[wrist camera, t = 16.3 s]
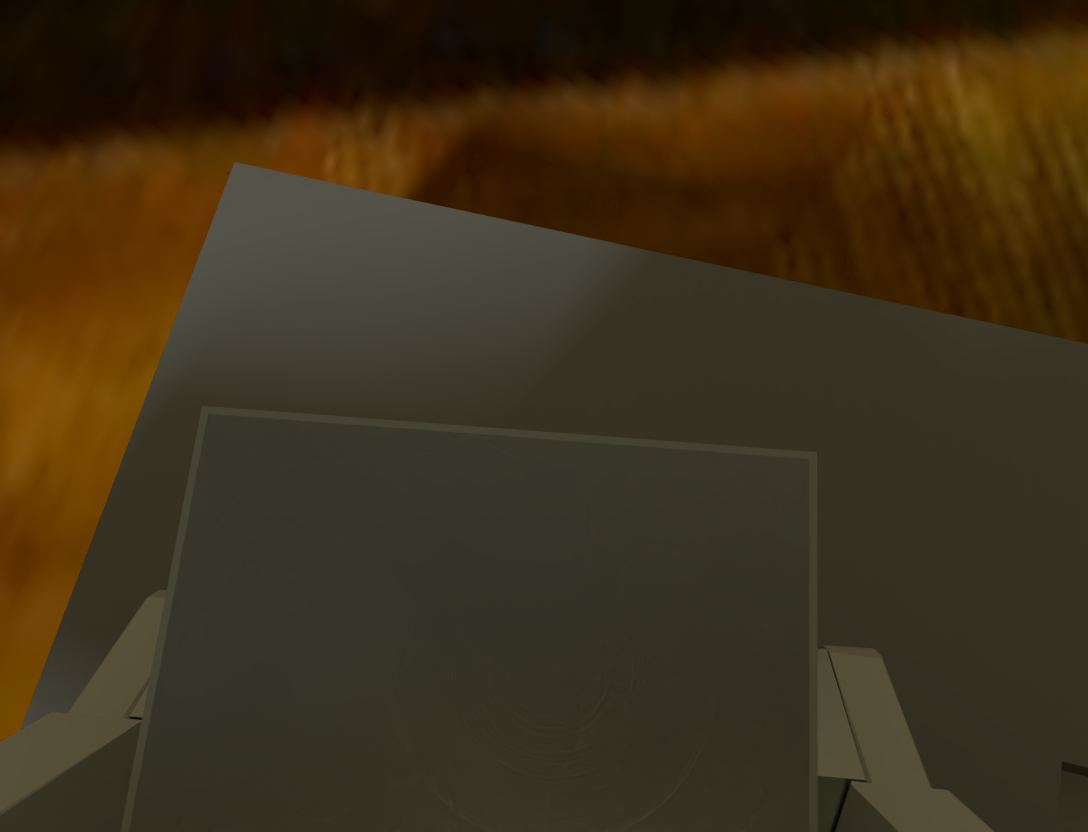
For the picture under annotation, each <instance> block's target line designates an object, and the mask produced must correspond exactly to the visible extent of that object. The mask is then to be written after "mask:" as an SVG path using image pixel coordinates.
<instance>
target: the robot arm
mask: <svg viewBox="0 0 1088 832" xmlns="http://www.w3.org/2000/svg"><path fill="white" fill-rule="evenodd" d="M165 596H166V590H159V591H157V592H155V593H154V594H152V595H150V596H149V597H147V598H146V599H145V601H144V602H143V603H142V605H141V606H140V608H139V609H138V611H137V612H136V614H135V615H134V617H133V618H132V619H131V621H130V622H129V624H128V625H127V627H126V628H125V630H124V631H123V632H122V634H121V635H120V637H119V638H118V640H117V641H116V643H115V644H114V646H113V647H112V648H111V650H110V651H109V653H108V654H107V656H106V657H105V659H104V660H103V662H102V663H101V664H100V666H99V667H98V669H97V670H96V672H95V673H94V675H93V676H92V678H91V679H90V680H89V682H88V683H87V685H86V686H85V688H84V689H83V691H82V692H81V693H80V695H79V696H78V698H77V699H76V701H75V702H74V704H73V705H72V707H71V708H70V709H69V711H68V712H67V713H56V712H51V713H49V714H47V715H45V716H44V717H42V718H40V719H39V720H37V721H35V722H33V723H32V724H30V725H28V726H27V727H25V728H23V729H22V730H20V731H18V732H16V733H15V734H13V735H11V736H10V737H8V738H6V739H4V740H3V741H1V742H0V832H120V831H121V825H122V820H123V815H124V810H125V805H126V799H127V794H128V789H129V784H130V779H131V773H132V768H133V763H134V758H135V752H136V747H137V742H138V737H139V732H140V726H141V721H142V716H143V711H144V706H145V700H146V695H147V690H148V685H149V680H150V674H151V669H152V664H153V659H154V653H155V648H156V643H157V638H158V633H159V627H160V622H161V617H162V612H163V607H164V601H165ZM818 832H994V831H993V830H992V829H991V828H990V827H989V826H988V825H987V824H985V823H984V822H983V821H982V820H981V819H980V818H979V817H978V816H977V815H975V814H974V813H973V812H972V811H971V810H970V809H969V808H968V807H967V806H965V805H964V804H963V803H962V802H961V801H960V800H959V799H958V798H956V797H955V796H954V795H953V794H952V793H951V792H950V791H949V790H942V789H933V788H931V785H930V783H929V780H928V777H927V775H926V772H925V770H924V767H923V764H922V762H921V759H920V756H919V754H918V751H917V748H916V746H915V743H914V741H913V738H912V735H911V733H910V730H909V727H908V725H907V722H906V719H905V717H904V714H903V711H902V709H901V706H900V704H899V701H898V698H897V696H896V693H895V690H894V688H893V685H892V682H891V680H890V677H889V675H888V672H887V669H886V667H885V664H884V661H883V659H882V656H881V655H880V654H879V653H878V652H877V651H876V650H875V649H874V648H859V647H844V646H829V645H822V646H821V647H820V646H818Z"/></svg>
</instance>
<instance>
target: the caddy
mask: <svg viewBox="0 0 1088 832" xmlns="http://www.w3.org/2000/svg"><path fill="white" fill-rule="evenodd" d="M202 406H211V407H224V408H237V409H250V410H264V411H277V412H290V413H303V414H317V415H330V416H343V417H356V418H370V419H383V420H396V421H410V422H423V423H436V424H449V425H463V426H476V427H489V428H502V429H516V430H529V431H542V432H555V433H569V434H582V435H595V436H609V437H622V438H635V439H648V440H662V441H675V442H688V443H701V444H715V445H728V446H741V447H755V448H768V449H781V450H794V451H808V452H817V646H820V647H821V646H822V645H829V646H844V647H859V648H874V649H875V650H876V651H877V652H878V653H879V654H880V655H881V656H882V659H883V661H884V664H885V667H886V669H887V672H888V675H889V677H890V680H891V682H892V685H893V688H894V690H895V693H896V696H897V698H898V701H899V704H900V706H901V709H902V711H903V714H904V717H905V719H906V722H907V725H908V727H909V730H910V733H911V735H912V738H913V741H914V743H915V746H916V748H917V751H918V754H919V756H920V759H921V762H922V764H923V767H924V770H925V772H926V775H927V777H928V780H929V783H930V785H931V788H933V789H942V790H949V791H950V792H951V793H952V794H953V795H954V796H955V797H956V798H958V799H959V800H960V801H961V802H962V803H963V804H964V805H965V806H967V807H968V808H969V809H970V810H971V811H972V812H973V813H974V814H975V815H977V816H978V817H979V818H980V819H981V820H982V821H983V822H984V823H985V824H987V825H988V826H989V827H990V828H991V829H992V830H993V831H994V832H1088V343H1083V342H1078V341H1074V340H1069V339H1064V338H1059V337H1055V336H1050V335H1045V334H1041V333H1036V332H1031V331H1026V330H1022V329H1017V328H1012V327H1008V326H1003V325H998V324H994V323H989V322H984V321H979V320H975V319H970V318H965V317H961V316H956V315H951V314H947V313H942V312H937V311H932V310H928V309H923V308H918V307H914V306H909V305H904V304H899V303H895V302H890V301H885V300H881V299H876V298H871V297H867V296H862V295H857V294H852V293H848V292H843V291H838V290H834V289H829V288H824V287H819V286H815V285H810V284H805V283H801V282H796V281H791V280H787V279H782V278H777V277H772V276H768V275H763V274H758V273H754V272H749V271H744V270H740V269H735V268H730V267H725V266H721V265H716V264H711V263H707V262H702V261H697V260H692V259H688V258H683V257H678V256H674V255H669V254H664V253H660V252H655V251H650V250H645V249H641V248H636V247H631V246H627V245H622V244H617V243H612V242H608V241H603V240H598V239H594V238H589V237H584V236H580V235H575V234H570V233H565V232H561V231H556V230H551V229H547V228H542V227H537V226H533V225H528V224H523V223H518V222H514V221H509V220H504V219H500V218H495V217H490V216H485V215H481V214H476V213H471V212H467V211H462V210H457V209H453V208H448V207H443V206H438V205H434V204H429V203H424V202H420V201H415V200H410V199H406V198H401V197H396V196H391V195H387V194H382V193H377V192H373V191H368V190H363V189H358V188H354V187H349V186H344V185H340V184H335V183H330V182H326V181H321V180H316V179H311V178H307V177H302V176H297V175H293V174H288V173H283V172H278V171H274V170H269V169H264V168H260V167H255V166H250V165H246V164H241V163H236V162H235V163H234V165H233V168H232V171H231V173H230V176H229V179H228V181H227V184H226V186H225V189H224V192H223V194H222V197H221V200H220V202H219V205H218V208H217V210H216V213H215V216H214V218H213V221H212V224H211V226H210V229H209V232H208V234H207V237H206V239H205V242H204V245H203V247H202V250H201V253H200V255H199V258H198V261H197V263H196V266H195V269H194V271H193V274H192V277H191V279H190V282H189V285H188V287H187V290H186V292H185V295H184V298H183V300H182V303H181V306H180V308H179V311H178V314H177V316H176V319H175V322H174V324H173V327H172V330H171V332H170V335H169V338H168V340H167V343H166V346H165V348H164V351H163V353H162V356H161V359H160V361H159V364H158V367H157V369H156V372H155V375H154V377H153V380H152V383H151V385H150V388H149V391H148V393H147V396H146V399H145V401H144V404H143V406H142V409H141V412H140V414H139V417H138V420H137V422H136V425H135V428H134V430H133V433H132V436H131V438H130V441H129V444H128V446H127V449H126V452H125V454H124V457H123V459H122V462H121V465H120V467H119V470H118V473H117V475H116V478H115V481H114V483H113V486H112V489H111V491H110V494H109V497H108V499H107V502H106V505H105V507H104V510H103V512H102V515H101V518H100V520H99V523H98V526H97V528H96V531H95V534H94V536H93V539H92V542H91V544H90V547H89V550H88V552H87V555H86V558H85V560H84V563H83V565H82V568H81V571H80V573H79V576H78V579H77V581H76V584H75V587H74V589H73V592H72V595H71V597H70V600H69V603H68V605H67V608H66V611H65V613H64V616H63V618H62V621H61V624H60V626H59V629H58V632H57V634H56V637H55V640H54V642H53V645H52V648H51V650H50V653H49V656H48V658H47V661H46V664H45V666H44V669H43V671H42V674H41V677H40V679H39V682H38V685H37V687H36V690H35V693H34V695H33V698H32V701H31V703H30V706H29V709H28V711H27V714H26V717H25V719H24V722H23V724H22V727H21V730H22V729H23V728H25V727H27V726H28V725H30V724H32V723H33V722H35V721H37V720H39V719H40V718H42V717H44V716H45V715H47V714H49V713H51V712H56V713H67V712H68V711H69V709H70V708H71V707H72V705H73V704H74V702H75V701H76V699H77V698H78V696H79V695H80V693H81V692H82V691H83V689H84V688H85V686H86V685H87V683H88V682H89V680H90V679H91V678H92V676H93V675H94V673H95V672H96V670H97V669H98V667H99V666H100V664H101V663H102V662H103V660H104V659H105V657H106V656H107V654H108V653H109V651H110V650H111V648H112V647H113V646H114V644H115V643H116V641H117V640H118V638H119V637H120V635H121V634H122V632H123V631H124V630H125V628H126V627H127V625H128V624H129V622H130V621H131V619H132V618H133V617H134V615H135V614H136V612H137V611H138V609H139V608H140V606H141V605H142V603H143V602H144V601H145V599H146V598H147V597H149V596H150V595H152V594H154V593H155V592H157V591H159V590H166V591H167V586H168V581H169V575H170V570H171V565H172V560H173V554H174V549H175V544H176V539H177V534H178V528H179V523H180V518H181V513H182V508H183V502H184V497H185V492H186V487H187V482H188V476H189V471H190V466H191V461H192V455H193V450H194V445H195V440H196V435H197V429H198V424H199V419H200V414H201V409H202Z"/></svg>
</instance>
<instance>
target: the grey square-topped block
mask: <svg viewBox="0 0 1088 832" xmlns="http://www.w3.org/2000/svg"><path fill="white" fill-rule="evenodd" d="M120 832H818V646H817V452H808V451H794V450H781V449H768V448H755V447H741V446H728V445H715V444H701V443H688V442H675V441H662V440H648V439H635V438H622V437H609V436H595V435H582V434H569V433H555V432H542V431H529V430H516V429H502V428H489V427H476V426H463V425H449V424H436V423H423V422H410V421H396V420H383V419H370V418H356V417H343V416H330V415H317V414H303V413H290V412H277V411H264V410H250V409H237V408H224V407H211V406H202V409H201V414H200V419H199V424H198V429H197V435H196V440H195V445H194V450H193V455H192V461H191V466H190V471H189V476H188V482H187V487H186V492H185V497H184V502H183V508H182V513H181V518H180V523H179V528H178V534H177V539H176V544H175V549H174V554H173V560H172V565H171V570H170V575H169V581H168V586H167V591H166V596H165V601H164V607H163V612H162V617H161V622H160V627H159V633H158V638H157V643H156V648H155V653H154V659H153V664H152V669H151V674H150V680H149V685H148V690H147V695H146V700H145V706H144V711H143V716H142V721H141V726H140V732H139V737H138V742H137V747H136V752H135V758H134V763H133V768H132V773H131V779H130V784H129V789H128V794H127V799H126V805H125V810H124V815H123V820H122V825H121V831H120Z"/></svg>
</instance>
